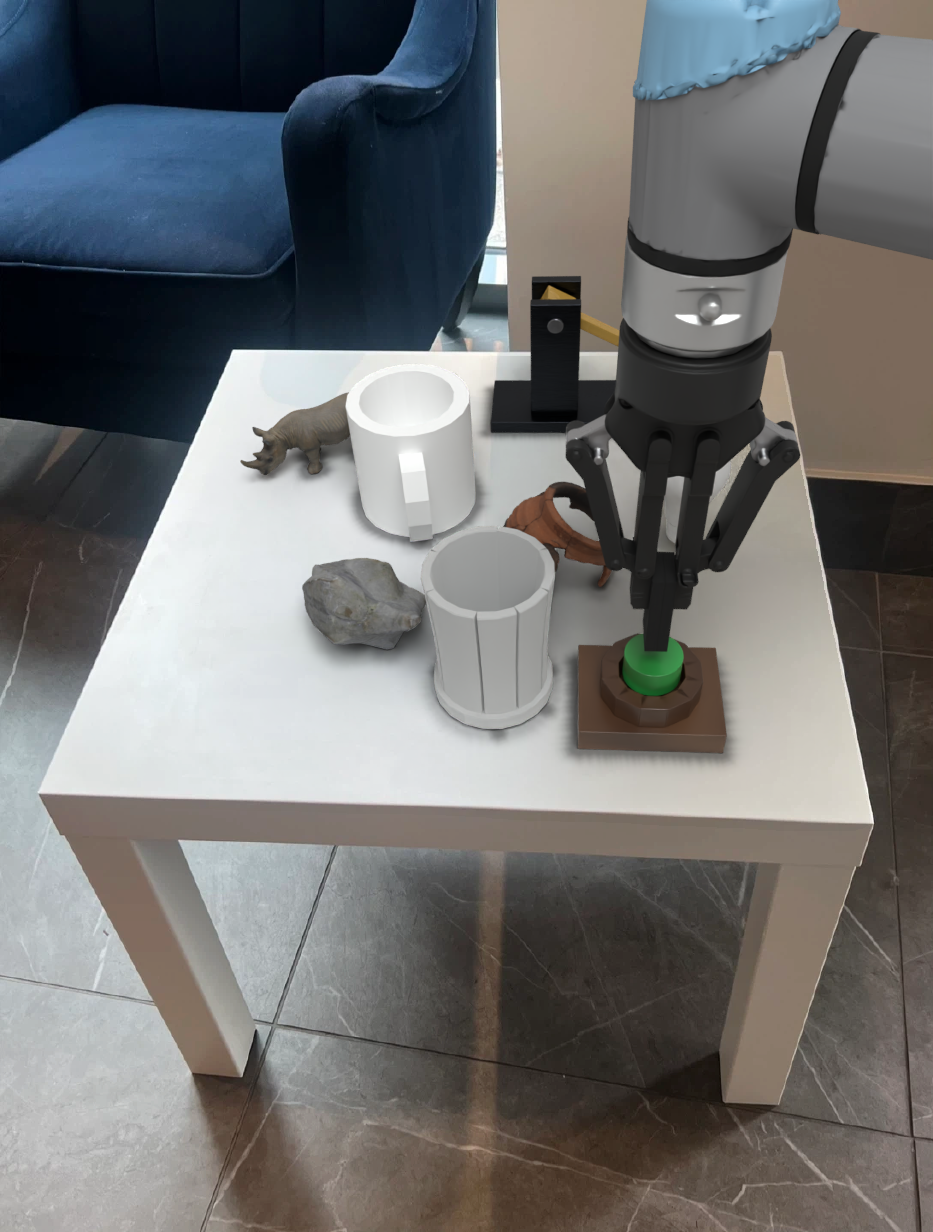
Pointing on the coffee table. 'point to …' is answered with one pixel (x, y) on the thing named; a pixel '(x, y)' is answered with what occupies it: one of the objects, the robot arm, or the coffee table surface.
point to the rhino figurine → (302, 435)
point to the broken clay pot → (559, 525)
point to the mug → (413, 449)
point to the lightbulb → (675, 494)
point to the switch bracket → (551, 369)
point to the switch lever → (587, 319)
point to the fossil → (361, 602)
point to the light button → (652, 667)
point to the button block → (649, 704)
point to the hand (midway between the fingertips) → (654, 636)
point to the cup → (490, 624)
